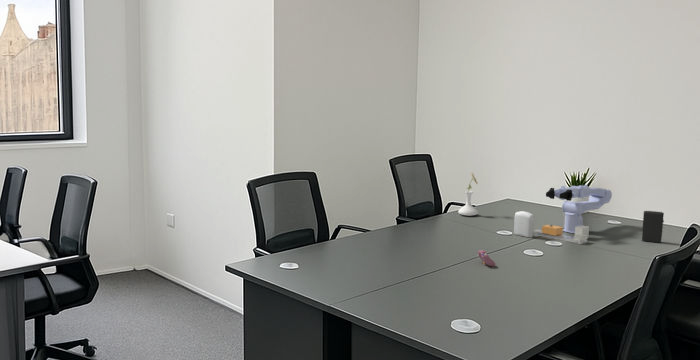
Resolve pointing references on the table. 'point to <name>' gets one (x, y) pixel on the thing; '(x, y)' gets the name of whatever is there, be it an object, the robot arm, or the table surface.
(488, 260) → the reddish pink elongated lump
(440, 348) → the table surface
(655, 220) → the card reader
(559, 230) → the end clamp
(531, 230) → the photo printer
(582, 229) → the block
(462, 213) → the flower in vase
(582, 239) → the mounting rail
